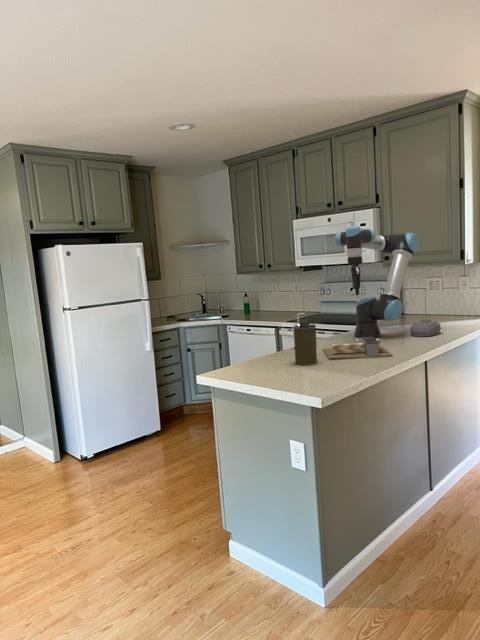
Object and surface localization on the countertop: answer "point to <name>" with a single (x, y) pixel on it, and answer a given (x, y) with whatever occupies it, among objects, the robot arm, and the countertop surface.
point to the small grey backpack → (425, 328)
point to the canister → (305, 343)
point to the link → (352, 348)
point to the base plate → (354, 355)
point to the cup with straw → (298, 321)
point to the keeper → (370, 346)
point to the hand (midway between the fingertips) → (357, 300)
